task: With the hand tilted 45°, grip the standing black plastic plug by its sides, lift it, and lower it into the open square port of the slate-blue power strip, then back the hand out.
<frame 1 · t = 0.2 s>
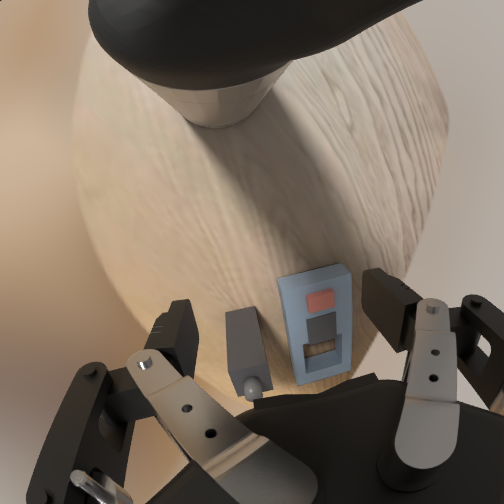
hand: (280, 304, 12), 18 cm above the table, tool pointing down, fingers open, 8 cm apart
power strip: (315, 324, 34), on the table
black plug: (243, 322, 33), on the table
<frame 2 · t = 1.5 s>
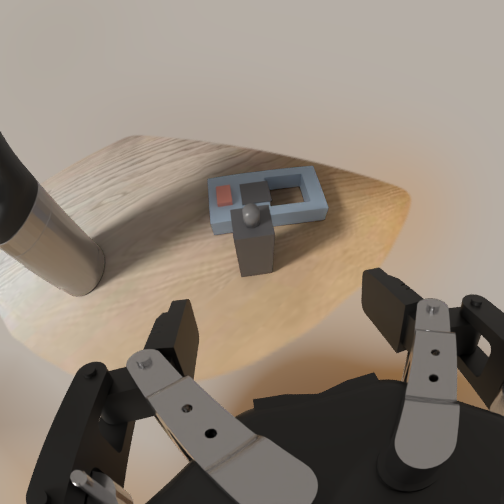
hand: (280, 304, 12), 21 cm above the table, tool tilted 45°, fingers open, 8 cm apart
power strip: (265, 204, 40), on the table
black plug: (254, 262, 36), on the table
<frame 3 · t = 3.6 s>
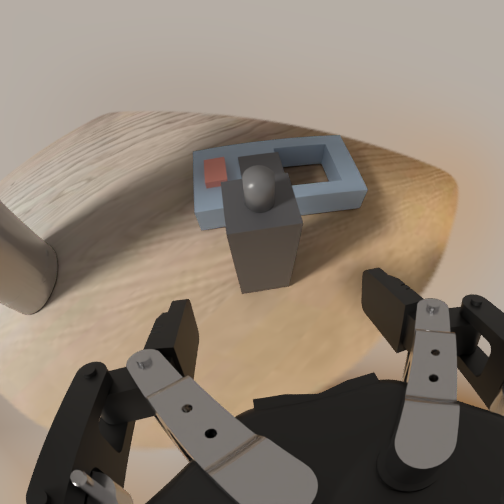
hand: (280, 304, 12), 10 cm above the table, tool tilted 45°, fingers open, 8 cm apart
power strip: (276, 186, 28), on the table
black plug: (262, 270, 24), on the table
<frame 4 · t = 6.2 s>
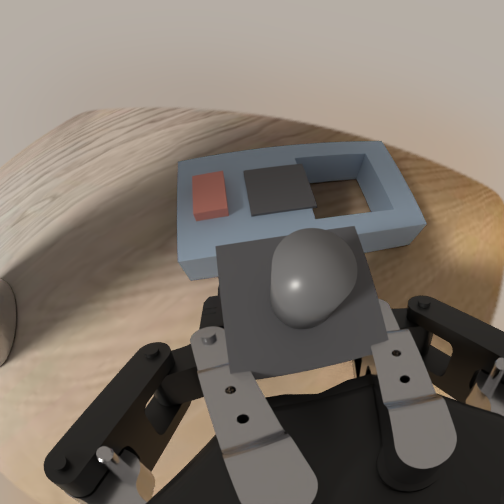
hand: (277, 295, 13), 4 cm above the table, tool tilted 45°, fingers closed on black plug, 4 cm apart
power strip: (297, 212, 20), on the table
black plug: (280, 345, 16), on the table, touching gripper
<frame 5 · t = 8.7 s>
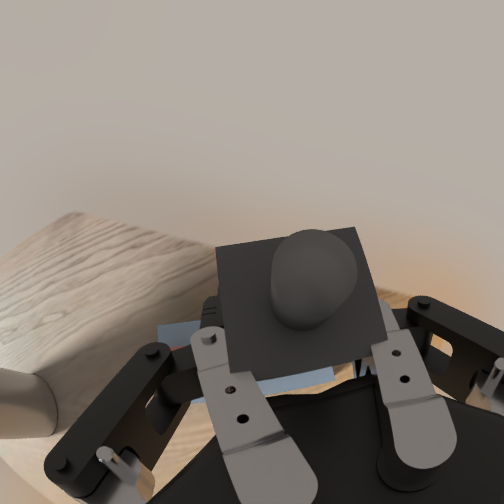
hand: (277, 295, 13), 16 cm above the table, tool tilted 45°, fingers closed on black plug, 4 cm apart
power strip: (244, 358, 26), on the table
black plug: (280, 345, 16), point 12 cm above the table, touching gripper
when the fingers open (5 cm above the table, at t = 11.7 s): black plug stays where it is, resting in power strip.
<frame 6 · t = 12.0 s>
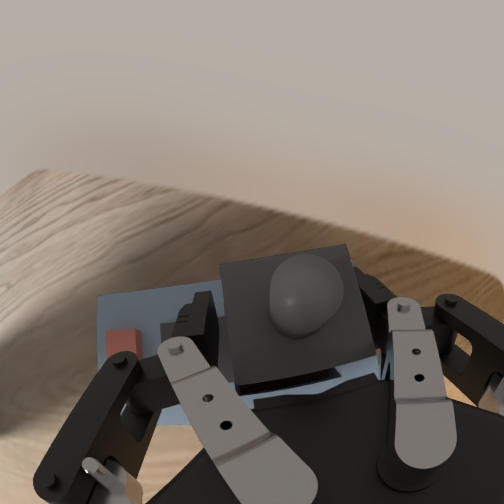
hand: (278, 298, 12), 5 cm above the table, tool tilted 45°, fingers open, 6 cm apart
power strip: (232, 354, 16), on the table
black plug: (279, 348, 16), resting in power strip
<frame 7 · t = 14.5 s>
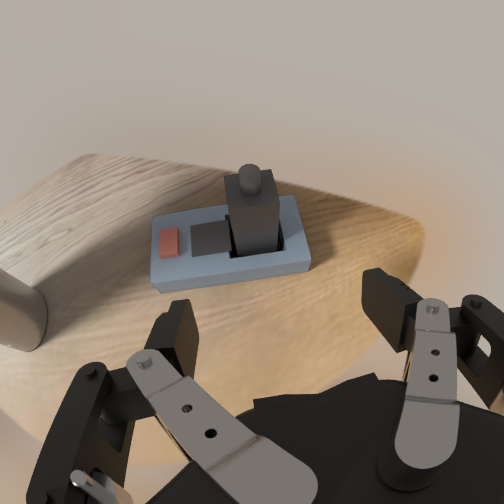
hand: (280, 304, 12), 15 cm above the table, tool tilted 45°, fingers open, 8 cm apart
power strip: (228, 249, 30), on the table
black plug: (255, 246, 30), resting in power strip
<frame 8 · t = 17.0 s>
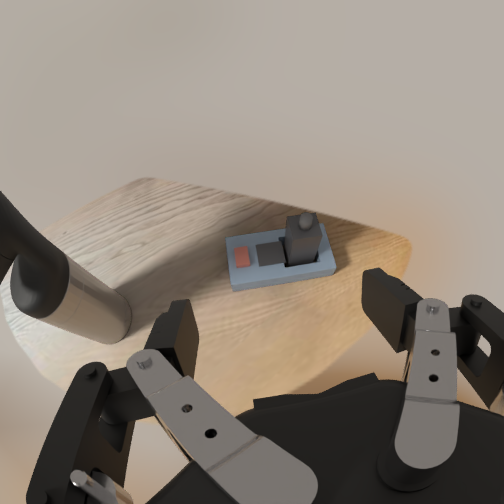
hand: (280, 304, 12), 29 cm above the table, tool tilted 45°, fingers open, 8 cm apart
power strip: (279, 260, 44), on the table
black plug: (297, 258, 44), resting in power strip
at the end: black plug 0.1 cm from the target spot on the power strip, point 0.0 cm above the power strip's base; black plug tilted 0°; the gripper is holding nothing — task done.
